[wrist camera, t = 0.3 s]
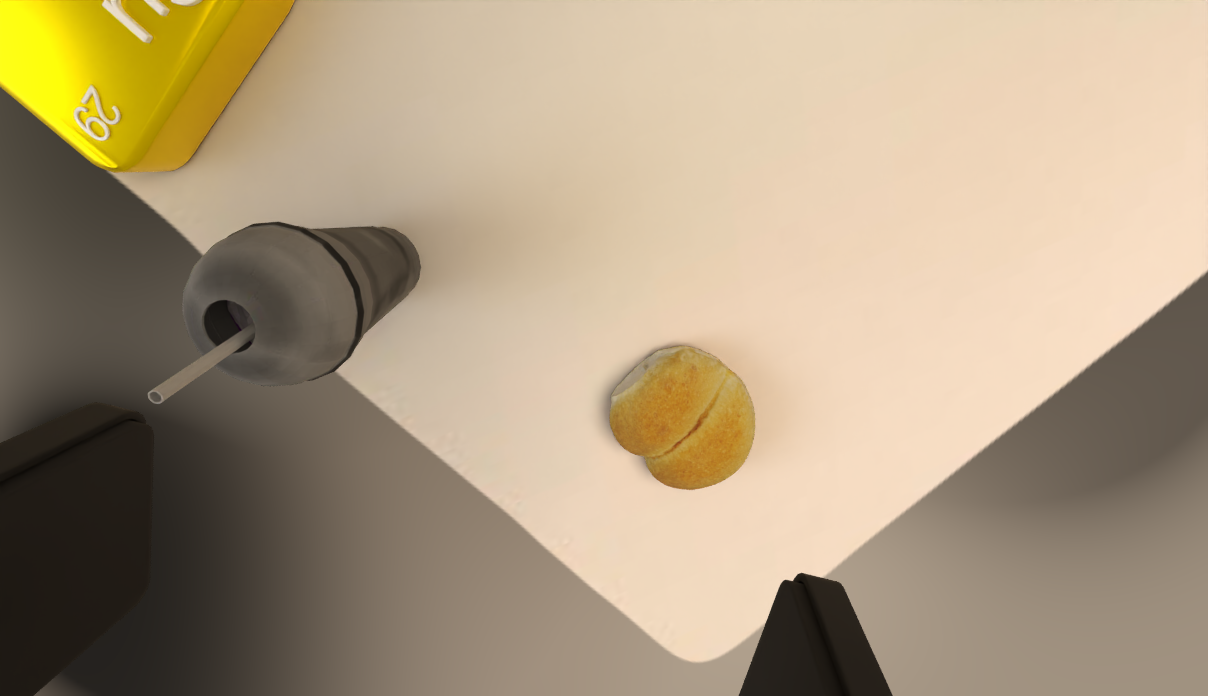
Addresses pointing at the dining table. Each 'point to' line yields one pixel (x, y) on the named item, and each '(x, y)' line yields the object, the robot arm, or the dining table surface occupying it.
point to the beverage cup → (290, 300)
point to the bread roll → (684, 417)
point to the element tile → (132, 71)
